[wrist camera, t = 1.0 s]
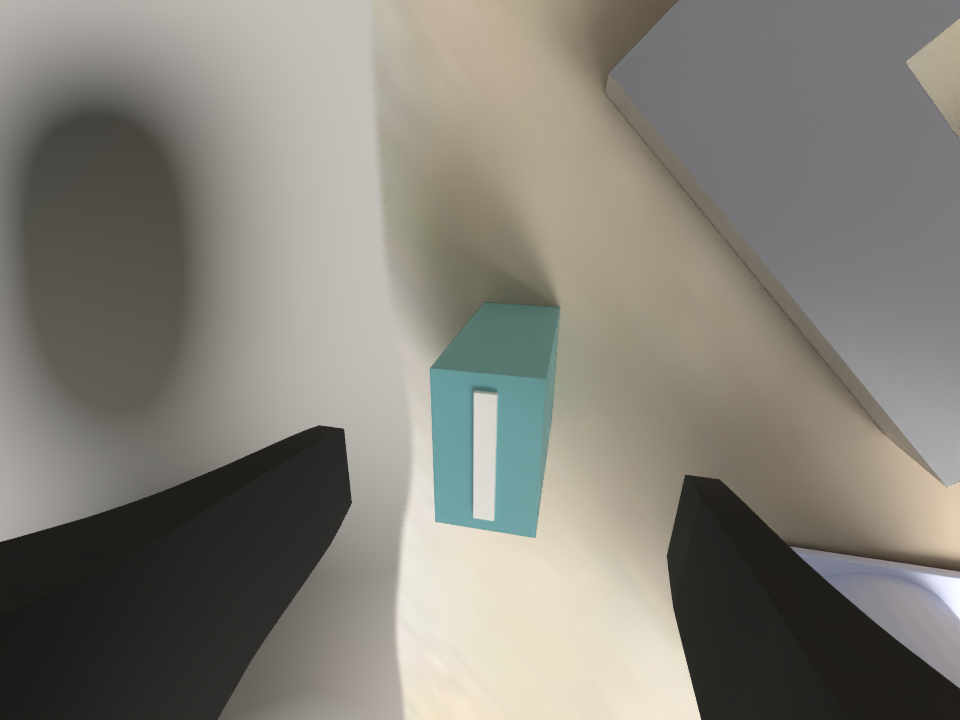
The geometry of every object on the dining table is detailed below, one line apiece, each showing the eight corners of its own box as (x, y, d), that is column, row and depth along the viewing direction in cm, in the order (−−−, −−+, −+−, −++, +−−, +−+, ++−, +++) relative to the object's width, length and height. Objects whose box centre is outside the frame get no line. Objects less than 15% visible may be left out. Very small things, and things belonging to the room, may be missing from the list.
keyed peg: (551, 420, 19) (534, 541, 13) (482, 412, 20) (433, 525, 13) (560, 307, 17) (545, 381, 11) (484, 302, 18) (428, 370, 12)
